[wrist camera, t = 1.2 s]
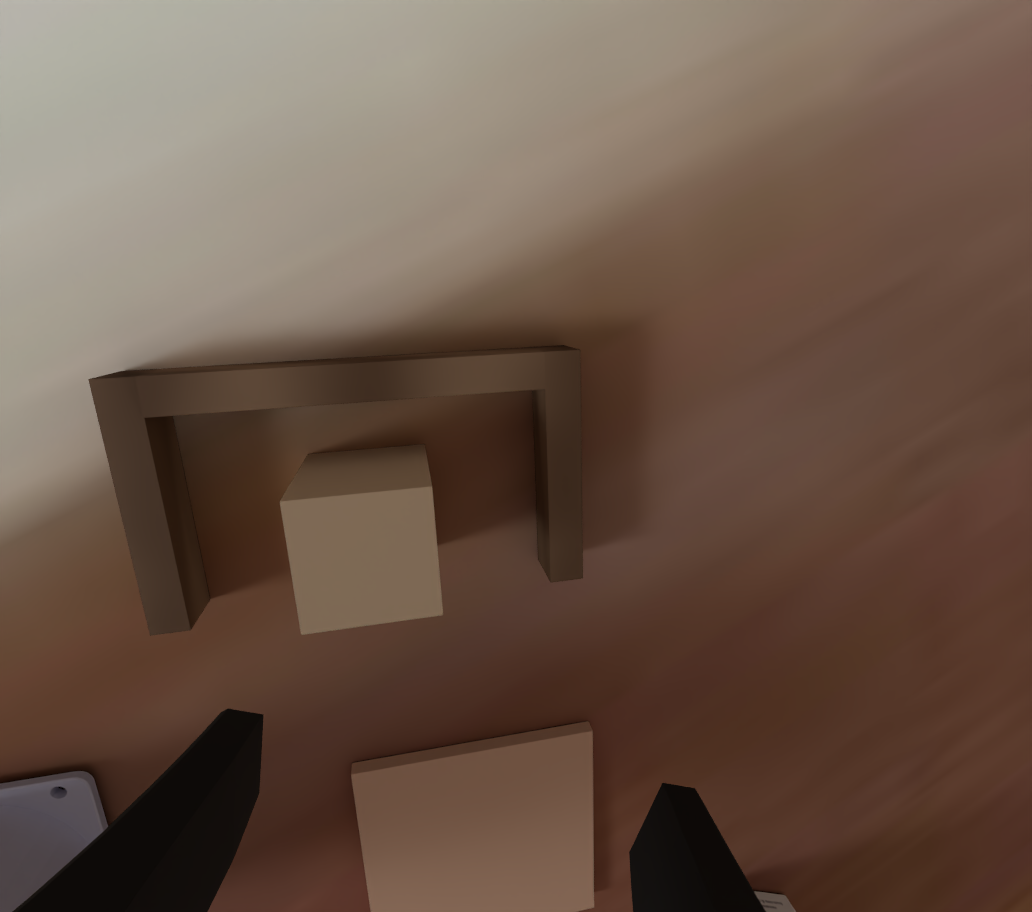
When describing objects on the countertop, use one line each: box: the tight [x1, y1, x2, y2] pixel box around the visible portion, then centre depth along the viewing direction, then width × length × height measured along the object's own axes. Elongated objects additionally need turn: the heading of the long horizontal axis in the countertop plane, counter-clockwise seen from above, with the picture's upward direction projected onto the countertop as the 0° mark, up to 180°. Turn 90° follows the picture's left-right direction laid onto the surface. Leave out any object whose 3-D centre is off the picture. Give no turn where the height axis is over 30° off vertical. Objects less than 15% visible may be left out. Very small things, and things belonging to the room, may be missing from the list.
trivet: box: [351, 721, 594, 912], centre depth 25 cm, size 10×10×1 cm
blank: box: [280, 444, 443, 635], centre depth 18 cm, size 4×4×5 cm
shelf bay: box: [89, 345, 583, 635], centre depth 19 cm, size 14×8×2 cm, turn 92°
